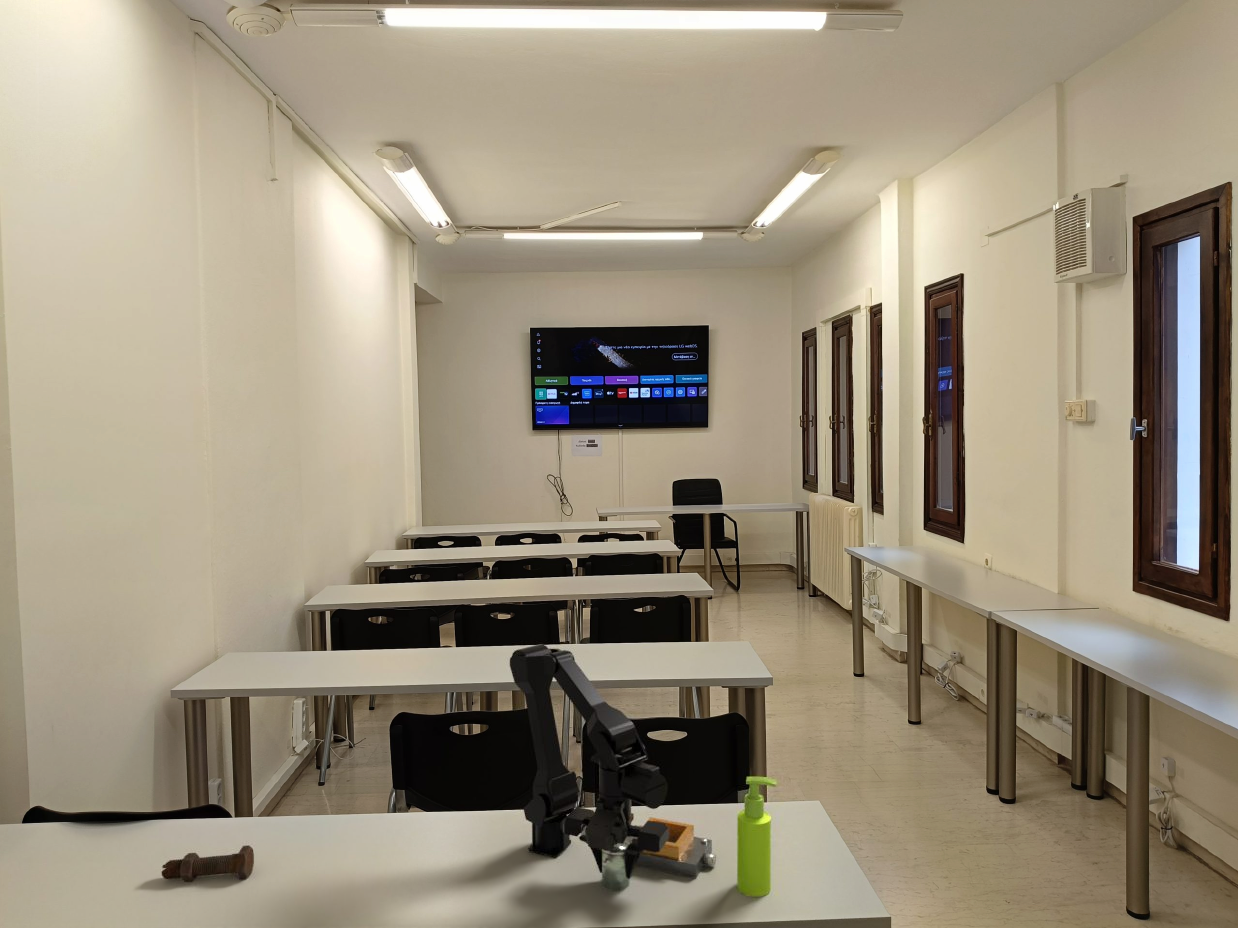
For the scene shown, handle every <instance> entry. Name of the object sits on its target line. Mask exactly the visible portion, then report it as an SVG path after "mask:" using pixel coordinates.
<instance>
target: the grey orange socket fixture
mask: <svg viewBox="0 0 1238 928" xmlns="http://www.w3.org/2000/svg"><path fill="white" fill-rule="evenodd" d="M647 821H653V822H659V823H664V824H666V826H667V827H668V829H669V839H668V840H667V842H666V843H665V845H664V846H663V847H662V849H661V850H660V851H659V852H651V851H646V850H644V851H643V852H641V853H640V855H639V857H638V860H637V863H636V865H635V867H636V866H637V867H641V868H646V869H651V870H655V871H660V872H664V873H669V874H674V875H678V874H679V875H678V876H684V877H687V876H688V877H687V878H692V877H693V878H692V879H697V878H698V876H699V875H700V873H701V871H702V869H703V868H704V866H709V867H715V866H716V862H717V855H716V854H712V853H713V847H712V846H713V841H712V839H708V838H705V837H704V838H703V837H698V836H695V835H694V834H695V832H694V830H695V828H694V827H695V826H694V824H689V823H682V822H678V821H674V820H668V819H662V818H656V817H652V816H651V817H650V816H649V818H648V820H647ZM645 824H646V822H645V823H644V825H645ZM644 825H643V826H644ZM634 826H637V825H634ZM625 840H626V841H628V842H629V844H630V843H631V837H628V836H627V837H626V839H625ZM698 874H699V875H698Z"/></svg>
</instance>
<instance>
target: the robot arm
mask: <svg viewBox="0 0 1238 928" xmlns="http://www.w3.org/2000/svg"><path fill="white" fill-rule="evenodd" d="M509 668H510V671H511V672H510V673H511V675H512V678H513V681H514V684H515V685H516V686H517V687H518V689H520V692H522V693H523V694H524V698H525V699H524V700H525V703H526V709H527V715H528V722H529V726H530V732H531V737H532V744H533V749H534V750H533V751H534V754H535V759H536V761H535V762H536V765H537V769H536V772H535V777H534V779H533V782H532V793H533V794H532V795H533V798H532V799H531V800H530V801H529V802H528V803H527V804H526V806H524V808H523V813H524V818H525V820H526V821H528V822H530V823H531V836H532V837H531V841H532V842H531V845H529V847H528V849H527V851H528V852H531V853H535V854H538V855H539V854H541V855H545V856H549V857H552V858H553V857H554V858H557V857H559V856H560V855H561V854H562V853H563V852H564V851H565V850H567V848H568V846H570V845H571V843H572V839H570V836H574V837H578V840H579V841H581V842H584V843H585V844H587V846H588V847H589V848H590V850H591V852H592V854H593V857H594V860H595V863H596V865H597V868H598V871H599V873H600V874H602V850H601V849H603V850H604V851H610V850H612V849H613V847H614V845H616V844H617V843H621V844H623V843H624V841H625V839H626V837H627V836H628V837H631V843H630V844H629V845H628V846H627V848H626V850H627V852H628V861H627V878H628V879H631V878H632V877H633V873H634V871H635V867H636V866H635V865H636V863H637V860H638V857H639V855H640V853H641V852H643V851H644V850H646V851H651V852H659V851H660V850H661V849H662V847H663V846H664V845H665V843H666V842H667V840H668V839H669V829H668V827H667V826H666V824H664V823H659V822H653V821H648V820H647V821H646V822H645V823H646V824H645V823H644V824H645V825H641V824H640V825H636V826H635V825H632V822H633V821H634V819H635V818H634V817H635V816H634V814H635V813H632V802H635V803H637V804H639V805H642V806H643V807H644V806H645V807H647V808H648V809H652V810H656V809H657V808H659V807H661V806H662V804H663V803H664V802H665V801H666V798H667V794H668V791H669V790H668V789H669V785H668V782H667V779H666V777H665V776H664V775H663V774H660V773H661V772H660V770H661V769H660V767H659V766H656V765H652V764H649V763H645V762H644V761H646V760H648V759H649V755H648V753H647V751H646V747H645V745H644V744H643V742H642V740H641V738H640V735H639V733H638V731H637V728H636V725H635V723H633V722H632V720H630V718H628V716H626V715H625V713H623V712H622V711H621V710H619V709H617V708H616V707H613V706H611V705H610V704H609V703H608V702H607V701H606V700H605V699H604V697H602V695H601V694H600V693H599V691H598V690H597V689H596V687H595V686H594V685H593V683H592V682H591V681H590V679H589V678H588V677H587V675H586V674H585V673H584V672H583V670H582V669H581V667H580V666H579V665H578V664H577V662H576V660H575V656H574V653H572V652H571V651H569V650H566V649H563V650H562V649H560V648H548V647H547V645H545V644H543V643H539V644H536V645H531V646H527V647H523V648H519V649H516V650H514V651H513V652H512V655H511V656H510V658H509ZM553 679H554V680H555V681H556V683H557V684H558V685H559V686H560V688H561V689H562V690H563V692H564V693H565V695H566V696H567V698H568V699H569V700H570V702H571V703H572V705H573V706H574V707H575V708H576V710H577V711H578V713H579V714H580V715H581V717H582V718H583V720H584V722H585V723H586V731H587V737H588V739H589V740H590V743H591V744H592V746H593V748H594V750H595V752H596V753H595V754H593V755H592V756H591V757H590V760H591V762H593V763H595V764H597V765H598V767H599V769H598V772H599V775H598V776H599V783H598V784H599V789H598V790H599V795H598V796H599V797H598V798H597V799H596V803H595V810H593V809H590V808H589V809H588V808H584V807H578V806H576V805H577V803H578V802H579V793H580V788H579V786H578V781H577V774H576V772H575V771H573V770H572V771H570V770H569V769H568V768H567V766H566V765H565V764H564V761H563V757H562V751H561V746H560V745H561V744H560V741H559V735H558V728H557V723H556V717H555V713H554V712H555V711H554V705H553V700H552V695H551V686H552V683H553ZM629 750H632V752H630V753H627V754H625V755H620V754H622V753H625V752H627V751H629ZM579 835H580V836H579Z"/></svg>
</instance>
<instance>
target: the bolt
mask: <svg viewBox="0 0 1238 928" xmlns="http://www.w3.org/2000/svg"><path fill="white" fill-rule="evenodd" d="M238 851H239V852H238V853H232V854H227V855H226V854H224V855H212V856H203V857H202V856H201V857H200V856H199V854H198V853H197V852H189V853H187V854H186V855H184V857H183V858H181V859H172V860H170V859H169V861H167V862H166V863H164V864H163V865H162V866H161V867H162V871H161V876H162V878H163V879H164V880H173V879H180V880H182V882H183V883H192V882H194V881H196V879H197V878H198V877H207V876H218V875H228V874H230V875H232V874H233V875H234V874H235V875H236V876H237V877H238V880H239V881H242V880H247V879H248V878H249V877H250V876H251V875H252V873H253V870H254V864H255V854H254V849H253V847H252V846H251V845H249V844H248V845H247V844H246V845H243V846H242V847H241V848H240V850H238Z"/></svg>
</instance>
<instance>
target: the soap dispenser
mask: <svg viewBox="0 0 1238 928" xmlns="http://www.w3.org/2000/svg"><path fill="white" fill-rule="evenodd" d="M745 782H746V783H745V784H746V785H749V789H748V790H749V793H747V794H745V795H744V809H743V810H741V811H739V812H738V813H737V819H736V820H737V831H736V832H737V835H736V836H737V839H736V840H737V842H736V843H737V844H736V845H737V846H736V847H737V848H736V850H737V853H736V855H737V858H736V860H737V865H736V866H737V867H736V868H737V874H736V875H737V877H736V880H737V881H736V884H737V885H736V888H737V890H738V891H739V892H740V893H741V894H743V895H745V896H748V897H753V898H759V897H764V896H767V895H768V894H769V893H770V892H771V882H772V881H771V878H772V876H771V875H772V873H771V869H772V867H771V862H772V861H771V859H772V858H771V855H772V854H771V853H772V852H771V851H772V850H771V849H772V845H771V843H772V842H771V840H772V836H771V834H772V832H771V831H772V826H771V825H772V824H771V823H772V817H771V815H770V814H769V812H766V811H765V810H764V809H765V808H764V806H765V805H764V803H765V800H764V799H765V798H764V795H762V794H760V785H763V786H765V785H766V786H770V787H773V788H775V787H776V786H777V785H778V780H776V779H773V778H770V777H766V776H746V780H745Z"/></svg>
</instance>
